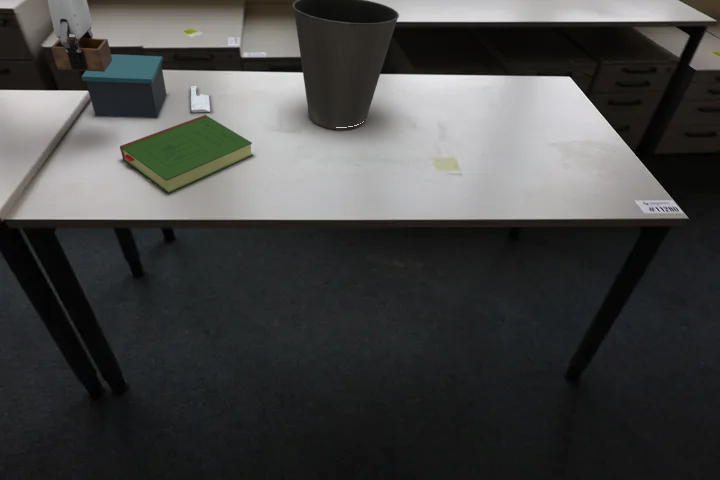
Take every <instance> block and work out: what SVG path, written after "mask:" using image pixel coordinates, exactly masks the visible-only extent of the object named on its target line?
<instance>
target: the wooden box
mask: <svg viewBox="0 0 720 480" xmlns="http://www.w3.org/2000/svg"><path fill="white" fill-rule="evenodd" d="M70 41H71V43H74V44H75V46H76V42H75V40H70ZM80 46H81V51H83V53H84V57H85V60H86V64H87V69H86V70H78V69H72V68H71V64H70V61H69V57H68V54H67V52H66V49H65V48H64V46H63V44H62V43H61V41H60V38H57V40H56V41H55V43H53V45H52V46H51V47H50V49H51V51H52V56H53V59H54V63H55V65H56V68H57V70H59V71H60V70H61V71H64V70H65V71H79V72H80V71H83V72H85V71H101V72H105V70H106V69H107V67H108V66H109V64H110V63H111V62H112V57H111V54H112V53H111V48H110V44H109V40H108V38H94V37H93V38H80Z"/></svg>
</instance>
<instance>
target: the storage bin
mask: <svg viewBox="0 0 720 480" xmlns="http://www.w3.org/2000/svg"><path fill="white" fill-rule="evenodd" d="M111 57H112V62H111V63H110V64H109V66H108V67H107V69H106V70H105V72H101V71H84V73H83V74H82V75H81V79H82V82H85V83H86V87H87V90H88V95H89V98H90V102H91V105H92V108H93V109H92V110H93V113H94V116H96V117H121V118H122V117H126V118H127V117H128V118H154V119H155V118H158V117H159V115H160V111H161V109H162V107H163V104H164V102H165V100H166V97H167V89H166V83H165V77H164V71H163V66H162V64H163V62H164V58H163V56H162V55H161V56H160V55H157V56H156V55H139V54H138V55H136V54H117V53H115V54H114V53H111Z"/></svg>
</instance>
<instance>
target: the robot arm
mask: <svg viewBox="0 0 720 480" xmlns="http://www.w3.org/2000/svg"><path fill="white" fill-rule="evenodd" d="M47 5H48V11H49V14H50V15H49V16H50V19H51V23H52V27H53V30H54V34H55V37H56V38H57V39H59V38H60V41H61V43H62V44H63V46H64V48H65V49H66V52H67V54H68V57H69V61H70V64H71V68H72V69H78V70H77V71H80V70H86V69H87V64H86V60H85V57H84V53H83V51H81V46H80V38H94V34H93V32H92V23H93V21H92V15H91V11H90V8H89V3H88V0H47ZM70 35H74V36H70ZM70 40H75V42H76V46H75V44H74V43H71V41H70Z"/></svg>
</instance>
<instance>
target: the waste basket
mask: <svg viewBox="0 0 720 480" xmlns="http://www.w3.org/2000/svg"><path fill="white" fill-rule="evenodd" d="M292 9H293V12H294V13H293V14H294V19H295V26H296V27H295V28H296V32H297V33H296V34H297V41H298V47H299V55H300V61H301V69H302V74H303V82H304V83H303V85H304V90H305V97H306V105H307V113H308V117H309V118H310V120H311V121H312V122H313V123H315V124H316V125H318V126H320V127H323V128H325V129H331V130H336V131H337V130H338V131H349V130H353V129H357V128H359V127H361V126H362V125H364V124H365V123H366V121H367V118H368V115H369V113H370V108H371V105H372V102H373V100H374V99H373V98H374V95H375V93H376V90H377V89H376V88H377V86H378V82H379V79H380V77H381V76H380V75H381V72H382V69H383V66H384V63H385V60H386V57H387V54H388V50H389V47H390V44H391V40H392V37H393V34H394V31H395V29H396V25H397V22H398V18H400V14H399V12H398V11H397V10H395V9H394V8H393V7H390V6H388V5H385V4H382V3H379V2H375V1H372V0H295V1H294V2H293V3H292ZM365 119H366V120H365ZM363 121H364V122H363ZM362 122H363V123H362ZM360 123H361V124H360ZM357 124H359V125H357ZM354 125H357V126H354ZM348 126H353V127H348ZM336 127H347V128H336Z"/></svg>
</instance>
